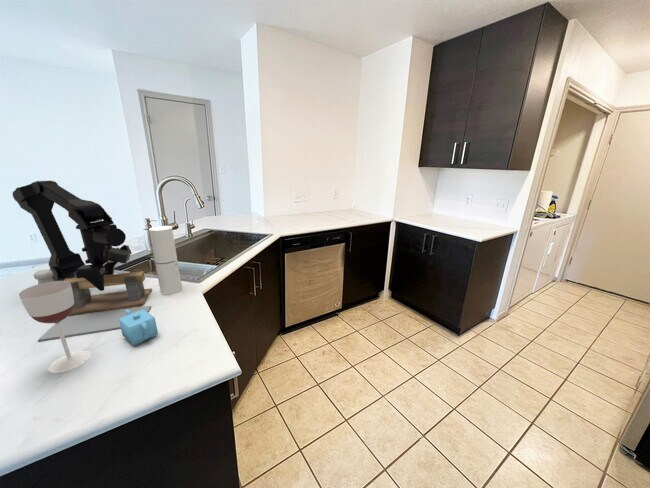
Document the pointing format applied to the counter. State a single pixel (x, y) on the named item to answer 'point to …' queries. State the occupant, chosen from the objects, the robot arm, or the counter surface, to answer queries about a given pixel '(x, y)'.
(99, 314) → the grey mat
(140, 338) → the light blue knobbed box
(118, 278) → the oak rail
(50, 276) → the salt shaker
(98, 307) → the rail stand
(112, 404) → the counter surface
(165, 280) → the cylindrical container
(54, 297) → the wineglass
